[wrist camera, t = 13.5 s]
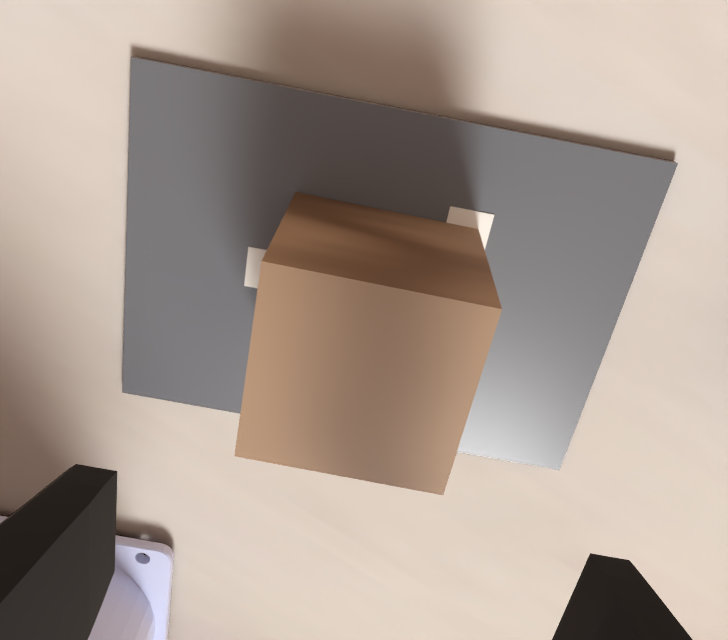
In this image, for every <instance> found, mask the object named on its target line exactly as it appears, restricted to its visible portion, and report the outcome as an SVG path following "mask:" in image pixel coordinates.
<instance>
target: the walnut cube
mask: <svg viewBox="0 0 728 640" xmlns="http://www.w3.org/2000/svg"><path fill="white" fill-rule="evenodd" d="M501 311H502V307H501V304H500V300H499V297H498V294H497V290H496V287H495V283H494V280H493V277H492V273H491V270H490V266H489V263H488V260H487V256H486V253H485V250H484V246H483V243H482V239H481V236H480V233H479V229H475V228H470V227H465V226H460V225H456V224H451V223H446V222H441V221H436V220H431V219H426V218H421V217H416V216H412V215H407V214H402V213H397V212H392V211H387V210H382V209H377V208H372V207H368V206H363V205H358V204H353V203H348V202H343V201H338V200H333V199H328V198H324V197H319V196H314V195H309V194H304V193H299V192H295V194H294V196H293V198H292V200H291V202H290V204H289V206H288V208H287V210H286V212H285V214H284V216H283V218H282V220H281V223H280V225H279V227H278V229H277V231H276V233H275V235H274V237H273V239H272V241H271V243H270V245H269V247H268V249H267V251H266V253H265V255H264V257H263V259H262V261H261V268H260V275H259V283H258V290H257V297H256V304H255V312H254V319H253V326H252V333H251V341H250V348H249V355H248V362H247V370H246V377H245V384H244V391H243V399H242V406H241V413H240V420H239V428H238V435H237V442H236V449H235V456H237V457H242V458H248V459H253V460H258V461H263V462H269V463H274V464H279V465H285V466H290V467H295V468H301V469H306V470H311V471H317V472H322V473H327V474H333V475H338V476H343V477H349V478H354V479H359V480H365V481H370V482H375V483H381V484H386V485H391V486H397V487H402V488H407V489H413V490H418V491H423V492H429V493H434V494H439V495H443V494H444V491H445V487H446V484H447V481H448V478H449V475H450V472H451V469H452V465H453V462H454V459H455V456H456V453H457V450H458V447H459V443H460V440H461V437H462V434H463V431H464V428H465V425H466V421H467V418H468V415H469V412H470V409H471V406H472V402H473V399H474V396H475V393H476V390H477V387H478V384H479V380H480V377H481V374H482V371H483V368H484V365H485V362H486V358H487V355H488V352H489V349H490V346H491V343H492V340H493V336H494V333H495V330H496V327H497V324H498V321H499V317H500V314H501Z"/></svg>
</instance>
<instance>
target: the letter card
mask: <svg viewBox="0 0 728 640" xmlns="http://www.w3.org/2000/svg"><path fill="white" fill-rule="evenodd" d="M677 164H678V163H676V162H674V161H669V160H664V159H659V158H654V157H648V156H643V155H638V154H633V153H628V152H623V151H618V150H613V149H607V148H602V147H597V146H592V145H587V144H582V143H577V142H571V141H566V140H561V139H556V138H551V137H546V136H541V135H536V134H530V133H525V132H520V131H515V130H510V129H505V128H500V127H494V126H489V125H484V124H479V123H474V122H469V121H464V120H459V119H453V118H448V117H443V116H438V115H433V114H428V113H423V112H417V111H412V110H407V109H402V108H397V107H392V106H387V105H382V104H376V103H371V102H366V101H361V100H356V99H351V98H346V97H340V96H335V95H330V94H325V93H320V92H315V91H310V90H305V89H299V88H294V87H289V86H284V85H279V84H274V83H269V82H263V81H258V80H253V79H248V78H243V77H238V76H233V75H228V74H222V73H217V72H212V71H207V70H202V69H197V68H192V67H186V66H181V65H176V64H171V63H166V62H161V61H156V60H151V59H145V58H140V57H135V56H133V57H131V81H130V119H129V157H128V195H127V233H126V271H125V309H124V347H123V385H122V393H128V394H134V395H139V396H145V397H151V398H156V399H162V400H167V401H173V402H179V403H184V404H190V405H195V406H201V407H207V408H212V409H218V410H224V411H229V412H235V413H241V406H242V399H243V391H244V384H245V377H246V370H247V362H248V355H249V348H250V341H251V333H252V326H253V319H254V312H255V304H256V297H257V290H258V283H259V275H260V268H261V261H262V259H263V257H264V255H265V253H266V251H267V249H268V247H269V245H270V243H271V241H272V239H273V237H274V235H275V233H276V231H277V229H278V227H279V225H280V223H281V220H282V218H283V216H284V214H285V212H286V210H287V208H288V206H289V204H290V202H291V200H292V198H293V196H294V194H295V192H299V193H304V194H309V195H314V196H319V197H324V198H328V199H333V200H338V201H343V202H348V203H353V204H358V205H363V206H368V207H372V208H377V209H382V210H387V211H392V212H397V213H402V214H407V215H412V216H416V217H421V218H426V219H431V220H436V221H441V222H446V223H451V224H456V225H460V226H465V227H470V228H475V229H479V233H480V236H481V239H482V243H483V246H484V250H485V253H486V256H487V260H488V263H489V266H490V270H491V273H492V277H493V280H494V283H495V287H496V290H497V294H498V297H499V300H500V304H501V307H502V311H501V314H500V317H499V321H498V324H497V327H496V330H495V333H494V336H493V340H492V343H491V346H490V349H489V352H488V355H487V358H486V362H485V365H484V368H483V371H482V374H481V377H480V380H479V384H478V387H477V390H476V393H475V396H474V399H473V402H472V406H471V409H470V412H469V415H468V418H467V421H466V425H465V428H464V431H463V434H462V437H461V440H460V443H459V447H458V450H457V452H460V453H465V454H471V455H477V456H482V457H488V458H493V459H499V460H505V461H510V462H516V463H522V464H527V465H533V466H538V467H544V468H550V469H555V470H560V467H561V464H562V462H563V459H564V457H565V454H566V451H567V449H568V446H569V444H570V441H571V438H572V436H573V433H574V431H575V428H576V426H577V423H578V420H579V418H580V415H581V413H582V410H583V407H584V405H585V402H586V400H587V397H588V395H589V392H590V389H591V387H592V384H593V382H594V379H595V376H596V374H597V371H598V369H599V366H600V364H601V361H602V358H603V356H604V353H605V351H606V348H607V345H608V343H609V340H610V338H611V335H612V332H613V330H614V327H615V325H616V322H617V320H618V317H619V314H620V312H621V309H622V307H623V304H624V301H625V299H626V296H627V294H628V291H629V289H630V286H631V283H632V281H633V278H634V276H635V273H636V270H637V268H638V265H639V263H640V260H641V258H642V255H643V252H644V250H645V247H646V245H647V242H648V239H649V237H650V234H651V232H652V229H653V227H654V224H655V221H656V219H657V216H658V214H659V211H660V208H661V206H662V203H663V201H664V198H665V195H666V193H667V190H668V188H669V185H670V183H671V180H672V177H673V175H674V172H675V170H676V167H677Z"/></svg>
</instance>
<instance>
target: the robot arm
mask: <svg viewBox="0 0 728 640" xmlns="http://www.w3.org/2000/svg"><path fill="white" fill-rule="evenodd" d="M116 498H117V471H113V470H107V469H101V468H95V467H90V466H84V465H78V464H76V465H74V466H73V467H71V468H69V469H68V470H67V471H65V472H64V473H63V474H62V475H60V476H59V477H58V478H57V479H55V480H54V481H53V482H52V483H50V484H49V485H48V486H47V487H45V488H44V489H43V490H42V491H40V492H39V493H38V494H37V495H36V496H34V497H33V498H32V499H31V500H29V501H28V502H27V503H25V504H24V505H23V506H22V507H20V508H19V509H18V510H17V511H15V512H14V513H13V514H12V515H10V516H9V517H5V516H0V640H168V629H169V615H170V602H171V589H172V576H173V563H174V553H173V551H172V549H171V548H170V547H169V546H167V545H165V544H162V543H158V542H152V541H146V540H140V539H134V538H128V537H123V536H117V535H116ZM142 553H145V554H147V555H148V556H146V555H143V554H142ZM552 640H692V639H691V637H690V636H689V635H688V633H687V632H686V631H685V630H684V628H683V627H682V626H681V625H680V623H679V622H678V621H677V619H676V618H675V617H674V616H673V614H672V613H671V612H670V611H669V609H668V608H667V607H666V605H665V604H664V603H663V602H662V600H661V599H660V598H659V596H658V595H657V594H656V593H655V591H654V590H653V589H652V588H651V586H650V585H649V584H648V582H647V581H646V580H645V579H644V577H643V576H642V575H641V574H640V573H639V571H638V570H637V569H636V568H635V566H634V565H633V564H632V563H631V562H630V561H629V560H624V559H619V558H613V557H607V556H601V555H596V554H590V555H589V557H588V560H587V562H586V564H585V567H584V569H583V571H582V573H581V576H580V578H579V580H578V582H577V585H576V587H575V589H574V591H573V594H572V596H571V598H570V600H569V603H568V605H567V607H566V609H565V612H564V614H563V616H562V618H561V621H560V623H559V625H558V628H557V630H556V632H555V634H554V637H553V639H552Z"/></svg>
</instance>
